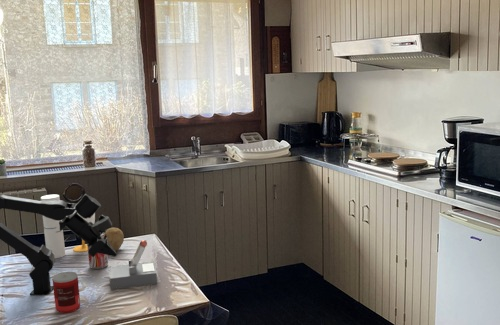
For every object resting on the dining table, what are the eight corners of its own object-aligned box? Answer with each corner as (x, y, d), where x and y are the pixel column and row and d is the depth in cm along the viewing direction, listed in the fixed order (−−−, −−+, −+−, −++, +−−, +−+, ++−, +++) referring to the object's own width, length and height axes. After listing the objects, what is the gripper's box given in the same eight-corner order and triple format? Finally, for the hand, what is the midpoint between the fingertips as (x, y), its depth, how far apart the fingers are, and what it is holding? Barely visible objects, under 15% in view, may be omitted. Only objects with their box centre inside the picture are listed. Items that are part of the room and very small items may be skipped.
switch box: (110, 289, 194) (108, 272, 193) (110, 277, 206) (109, 260, 205) (157, 283, 198) (155, 266, 197) (154, 271, 209) (153, 255, 208)
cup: (68, 246, 243) (64, 208, 240) (96, 242, 247) (93, 204, 244) (70, 254, 232) (66, 214, 229) (99, 250, 236) (96, 211, 233)
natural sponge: (100, 254, 231) (98, 231, 229) (106, 247, 240) (104, 224, 238) (122, 254, 230) (120, 230, 229) (127, 246, 239) (125, 224, 237)
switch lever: (128, 270, 198) (141, 241, 197) (127, 265, 203) (141, 236, 203) (135, 273, 199) (148, 244, 198) (134, 267, 204) (147, 239, 203)
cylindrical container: (46, 254, 234) (39, 196, 229) (64, 251, 237) (58, 193, 232) (48, 259, 227) (41, 199, 223) (66, 256, 230) (60, 197, 226)
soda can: (111, 263, 220) (108, 231, 218) (104, 269, 213) (101, 237, 211) (93, 263, 221) (90, 231, 219) (86, 269, 214) (83, 237, 212)
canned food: (71, 301, 186) (68, 269, 184) (85, 307, 181) (82, 274, 179) (50, 309, 181) (47, 277, 179) (64, 315, 175) (61, 282, 174)
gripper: (96, 217, 186) (132, 246, 190) (98, 204, 204) (130, 230, 208) (73, 242, 185) (109, 270, 190) (77, 226, 203) (110, 253, 208)
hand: (116, 255), depth 199 cm, fingers closed
